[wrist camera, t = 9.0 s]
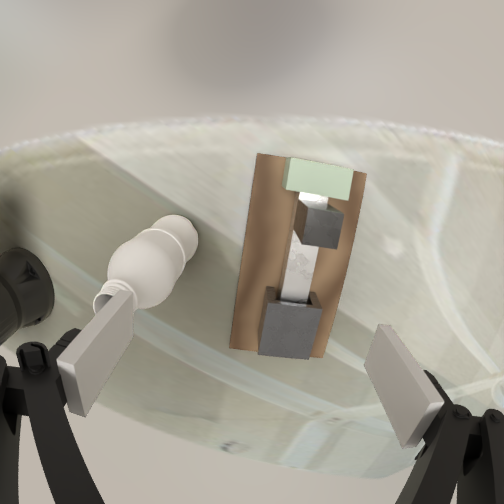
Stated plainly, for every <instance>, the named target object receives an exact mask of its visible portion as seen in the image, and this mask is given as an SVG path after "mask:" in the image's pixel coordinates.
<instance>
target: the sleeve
mask: <svg viewBox="0 0 504 504" xmlns="http://www.w3.org/2000/svg"><path fill="white" fill-rule="evenodd" d="M322 310H323V309H322V307H321V304H320V302H319V300H318V298H317V295H316V293H315V292H311V291H309V295H308V299H307V303H306V304H299V303H291V302H283V301H276V296H275V289H274V287H272V286H266V290H265V296H264V302H263V307H262V313H261V318H260V324H259V329H258V355H266V356H276V357H285V358H296V359H308V360H309V357H310V354H311V350H312V347H313V343H314V340H315V336H316V332H317V329H318V325H319V321H320V317H321V313H322Z"/></svg>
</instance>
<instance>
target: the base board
mask: <svg viewBox="0 0 504 504" xmlns="http://www.w3.org/2000/svg"><path fill="white" fill-rule="evenodd" d="M285 162H286V158H285V157H279V156H273V155H266V154H260V153H257V160H256V166H255V173H254V180H253V186H252V193H251V200H250V206H249V213H248V220H247V227H246V234H245V240H244V247H243V254H242V261H241V268H240V275H239V282H238V289H237V296H236V303H235V310H234V317H233V324H232V332H231V339H230V346H229V348H233V349H240V350H248V351H256V352H258V329H259V324H260V318H261V313H262V307H263V302H264V296H265V290H266V286H272V287H274V289H275V296H276V299H277V294H278V289H279V284H280V279H281V273H282V268H283V263H284V257H285V252H286V246H287V241H288V235H289V229H290V224H291V218H292V212H293V206H294V200H295V195H296V191H291V190H286V189H285V188H284V187H283V186H282V181H283V175H284V168H285ZM366 176H367V174H366V173H362V172H357V171H353V177H352V183H351V188H350V194H349V199H348V201H347V200H342V199H337V198H331V197H328V202H327V204H329V205H331V206H333V207H334V208H336V209H337V210H339V211H341V212H342V213H344V219H343V224H342V229H341V234H340V238H339V243H338V248H337V250H336V249H329V248H323V247H319V249H318V253H317V258H316V263H315V268H314V272H313V277H312V281H311V286H310V290H309V291H311V292H315V293H316V295H317V298H318V300H319V302H320V304H321V307H322V309H323V310H322V313H321V317H320V321H319V325H318V329H317V332H316V336H315V340H314V343H313V347H312V350H311V354H310V357H317V358H323V355H324V352H325V348H326V345H327V342H328V338H329V335H330V332H331V328H332V325H333V321H334V317H335V314H336V310H337V307H338V303H339V299H340V295H341V291H342V288H343V284H344V280H345V276H346V272H347V267H348V263H349V259H350V255H351V250H352V246H353V241H354V237H355V232H356V228H357V223H358V218H359V213H360V208H361V203H362V198H363V192H364V187H365V181H366Z"/></svg>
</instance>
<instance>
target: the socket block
mask: <svg viewBox="0 0 504 504" xmlns="http://www.w3.org/2000/svg"><path fill="white" fill-rule="evenodd" d="M353 171H354V170H353V169H349V168H344V167H339V166H335V165H330V164H325V163H319V162H314V161H309V160H303V159H298V158H292V157H289V158H286V162H285V168H284V175H283V181H282V186H283V187H284V188H285V189H286V190H291V191H297V192H303V193H309V194H315V195H320V196H326V197H331V198H337V199H342V200H347V201H348V199H349V194H350V188H351V183H352V177H353Z"/></svg>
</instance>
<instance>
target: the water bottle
mask: <svg viewBox="0 0 504 504" xmlns="http://www.w3.org/2000/svg"><path fill="white" fill-rule="evenodd" d="M197 246H198V233H197V231H196V229H195V228H194V227H193V225H192V223H191V222H190V220H188V219H187V218H185V217H183V216H180V215H168V216H164V217H162V218H160V219H159V220H157V221H156V222H155V223H154V224H153V225H152V227H151V228H149V229H146V230H143V231H142V232H140V233H139V234H138V235H136V236H135V237H134V238H133V239H131V240H129V241H127V242H125V243H123V244H122V245H121V246H120V247H119V248H118V249H117V250H116V251H115V252H114V254H113V255H112V257H111V259H110V262H109V265H108V272H107V278H108V281H107V282H106V283H105V284H104V285H103V286H102V289H101V291H100V292H99V294H97V295H96V297H95V299H94V301H93V309H94V312H95V314H97V313H98V312H99V311H100V310H101V309H102V308H103V307H104V306H105V305H106V303H107V302H108V301H109V300H110V299H111V298H112V297H113V296H114V295H115V294H116V293H117V292H118V291H119V290H126V291H131V292H133V313H134V312H135V311H136V309H146V308H151V307H154V306H156V305H158V304H160V303H161V302H163V301H164V300H165V299H166V298H167V297H168V296H169V294H170V293H171V291H172V290H173V287H174V284H175V283H176V281H177V279H178V278H179V277H180V275H181V274H182V272H183V270H184V267H185V263H186V262H187V261H189V260H190V259H191V258H192V257H193V255H194V254H195V252H196V249H197Z"/></svg>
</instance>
